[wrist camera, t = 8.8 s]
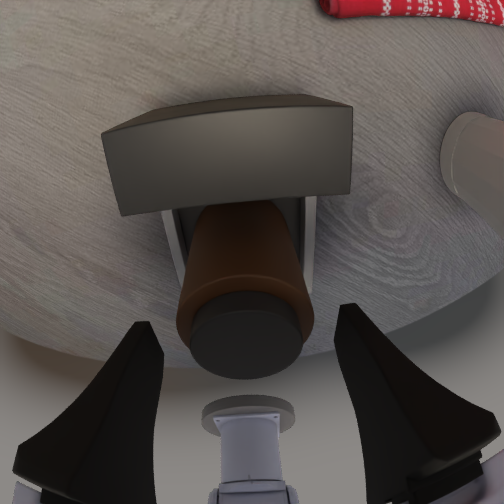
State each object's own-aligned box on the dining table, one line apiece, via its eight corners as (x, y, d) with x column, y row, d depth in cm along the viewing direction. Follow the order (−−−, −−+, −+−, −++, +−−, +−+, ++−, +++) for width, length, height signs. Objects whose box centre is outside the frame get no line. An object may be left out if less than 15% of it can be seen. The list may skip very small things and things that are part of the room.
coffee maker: (305, 274, 19) (329, 352, 14) (189, 285, 19) (176, 365, 14) (305, 94, 13) (353, 106, 8) (152, 109, 13) (99, 133, 8)
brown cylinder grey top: (287, 267, 18) (314, 379, 11) (203, 275, 18) (191, 389, 11) (286, 187, 15) (327, 287, 8) (187, 197, 15) (152, 302, 8)
